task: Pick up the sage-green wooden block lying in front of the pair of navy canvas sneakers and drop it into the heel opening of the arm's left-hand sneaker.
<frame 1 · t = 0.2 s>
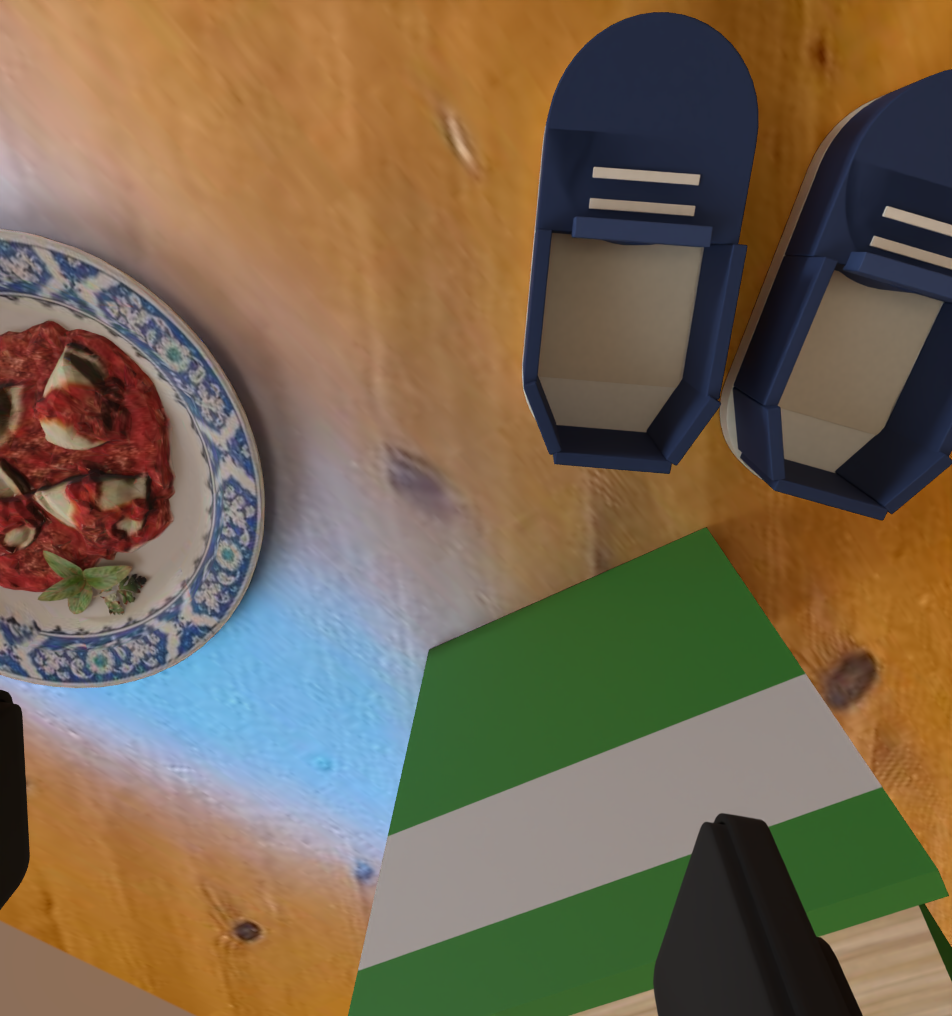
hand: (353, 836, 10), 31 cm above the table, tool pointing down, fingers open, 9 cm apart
sneaker 1: (618, 264, 37), on the table
ceramic plate: (54, 470, 42), on the table
hardback book: (588, 640, 44), on the table
sneaker 2: (846, 303, 37), on the table
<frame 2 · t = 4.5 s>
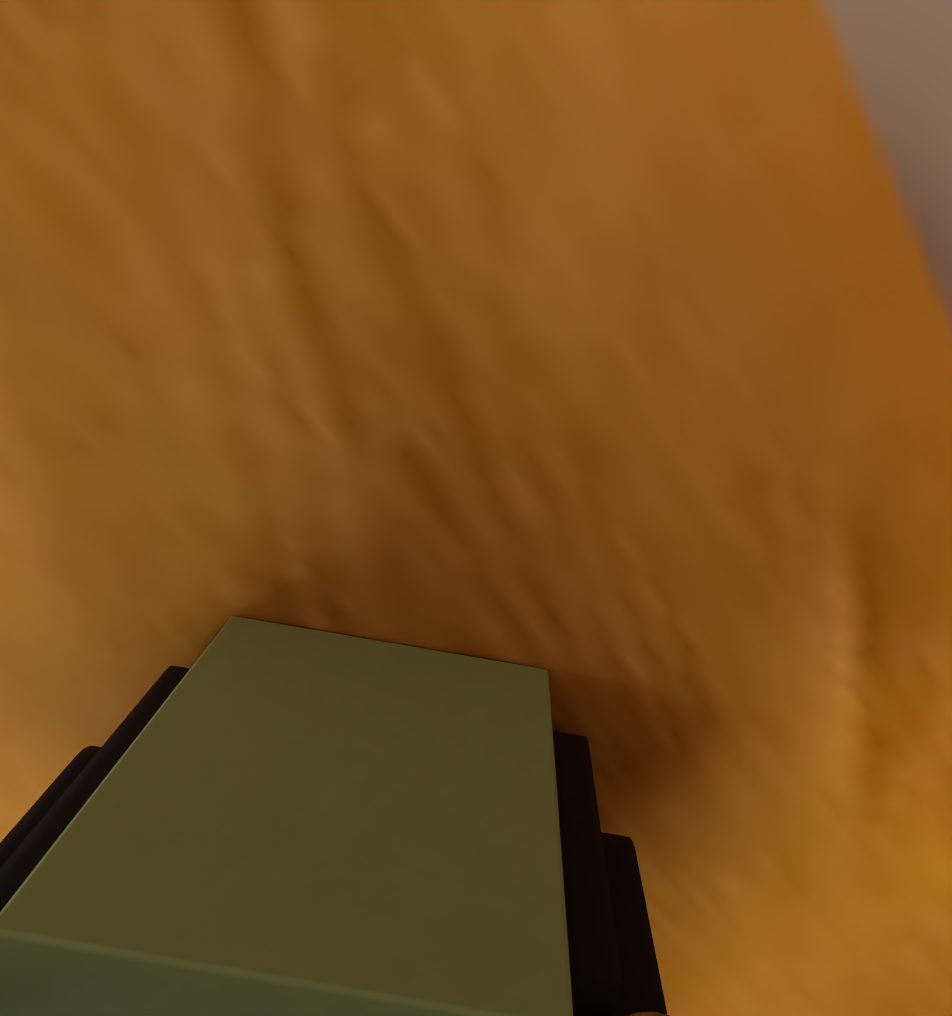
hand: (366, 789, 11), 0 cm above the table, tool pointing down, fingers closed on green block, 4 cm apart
green block: (371, 771, 11), on the table, touching gripper
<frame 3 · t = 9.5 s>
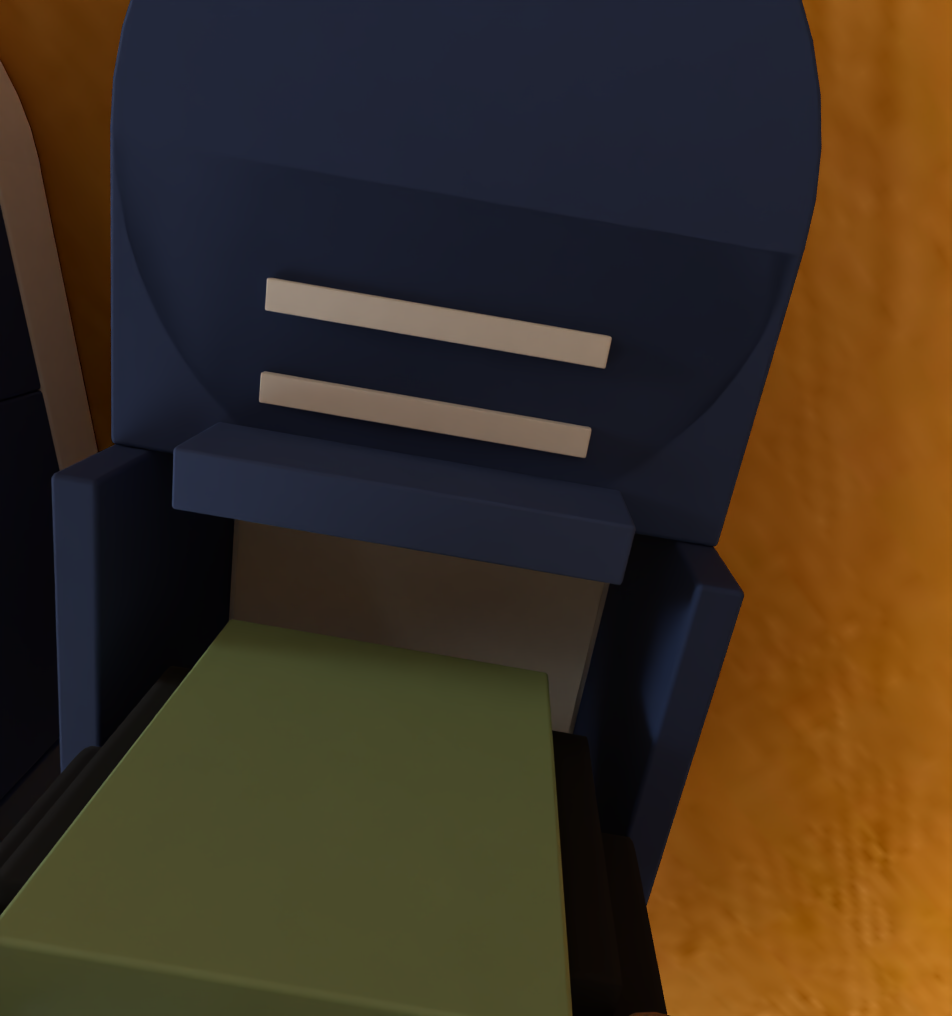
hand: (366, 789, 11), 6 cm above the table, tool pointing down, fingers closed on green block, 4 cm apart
green block: (371, 774, 11), point 5 cm above the table, touching gripper
sneaker 2: (438, 475, 15), on the table
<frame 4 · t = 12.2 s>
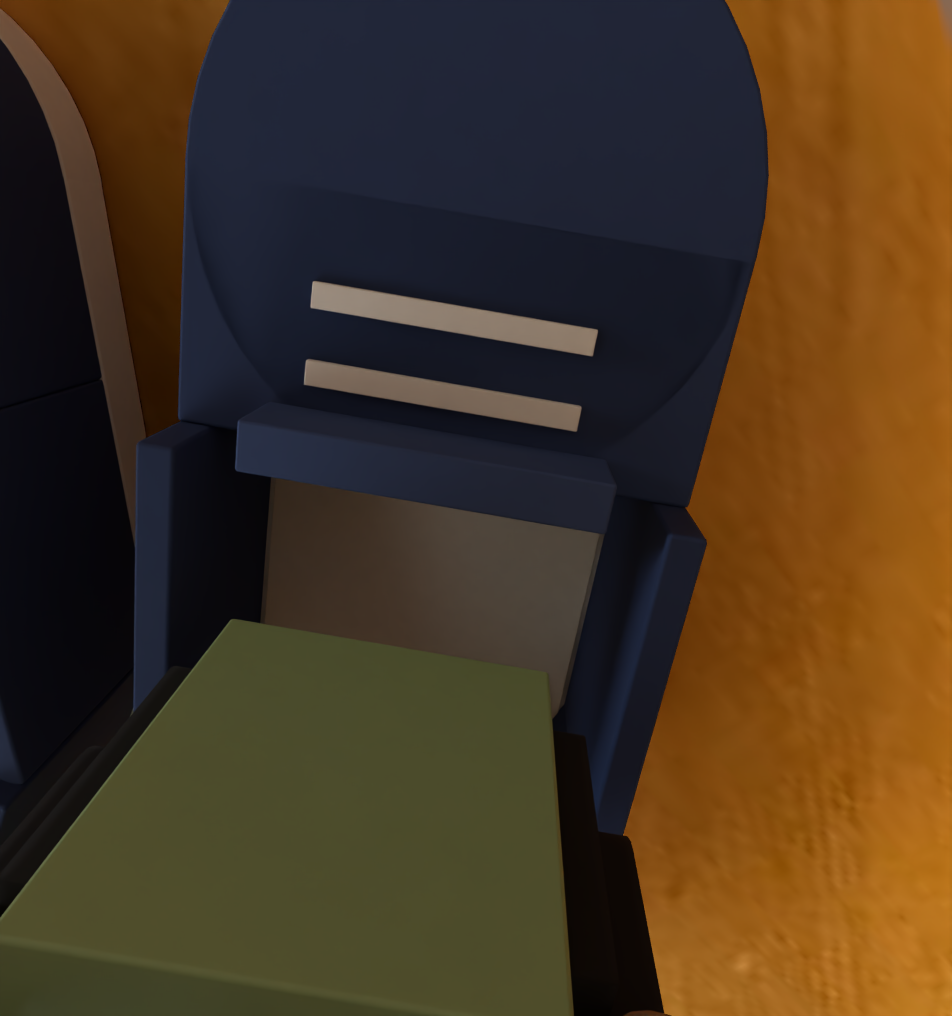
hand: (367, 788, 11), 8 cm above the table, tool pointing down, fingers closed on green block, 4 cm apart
green block: (372, 774, 11), point 7 cm above the table, touching gripper
sneaker 2: (448, 456, 17), on the table
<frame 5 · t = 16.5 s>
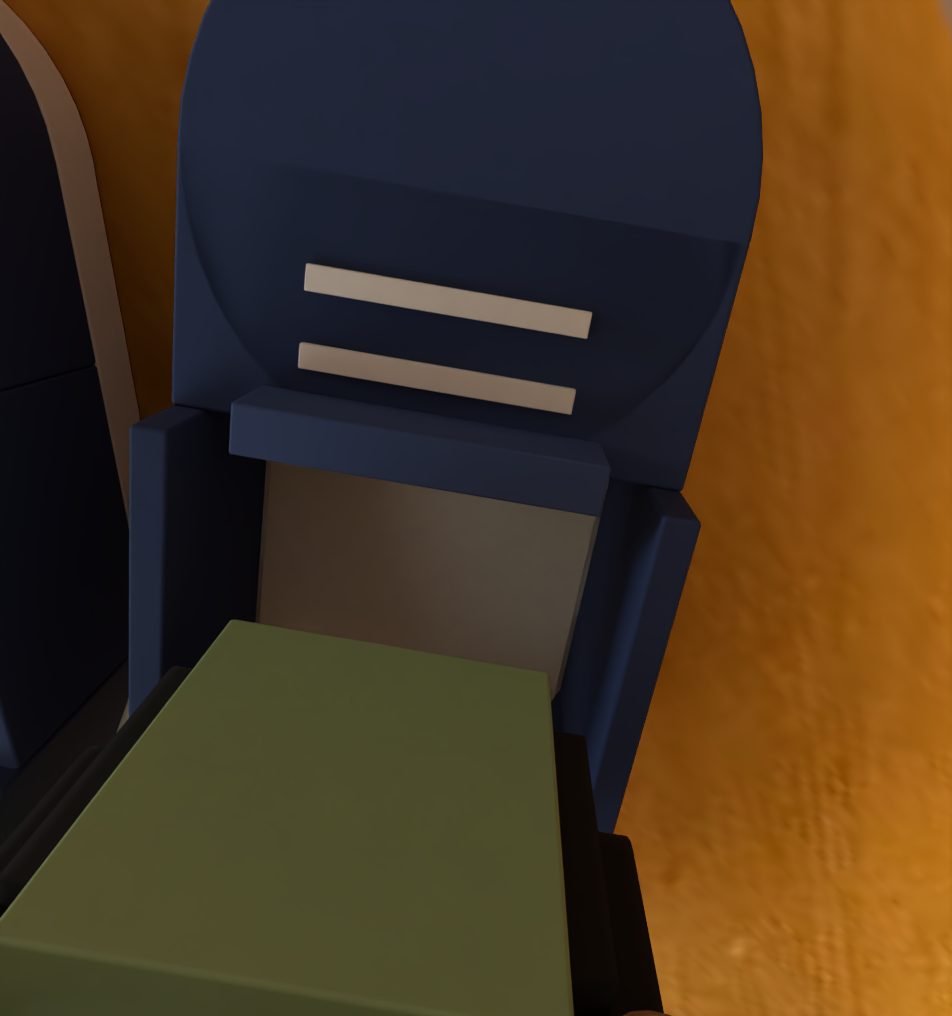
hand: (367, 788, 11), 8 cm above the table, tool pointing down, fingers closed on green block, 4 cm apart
green block: (372, 774, 11), point 8 cm above the table, touching gripper
sneaker 2: (444, 443, 17), on the table
when the fingers open (8 cm above the table, at t = 20.2 s): green block drops 6 cm, resting on sneaker 2.
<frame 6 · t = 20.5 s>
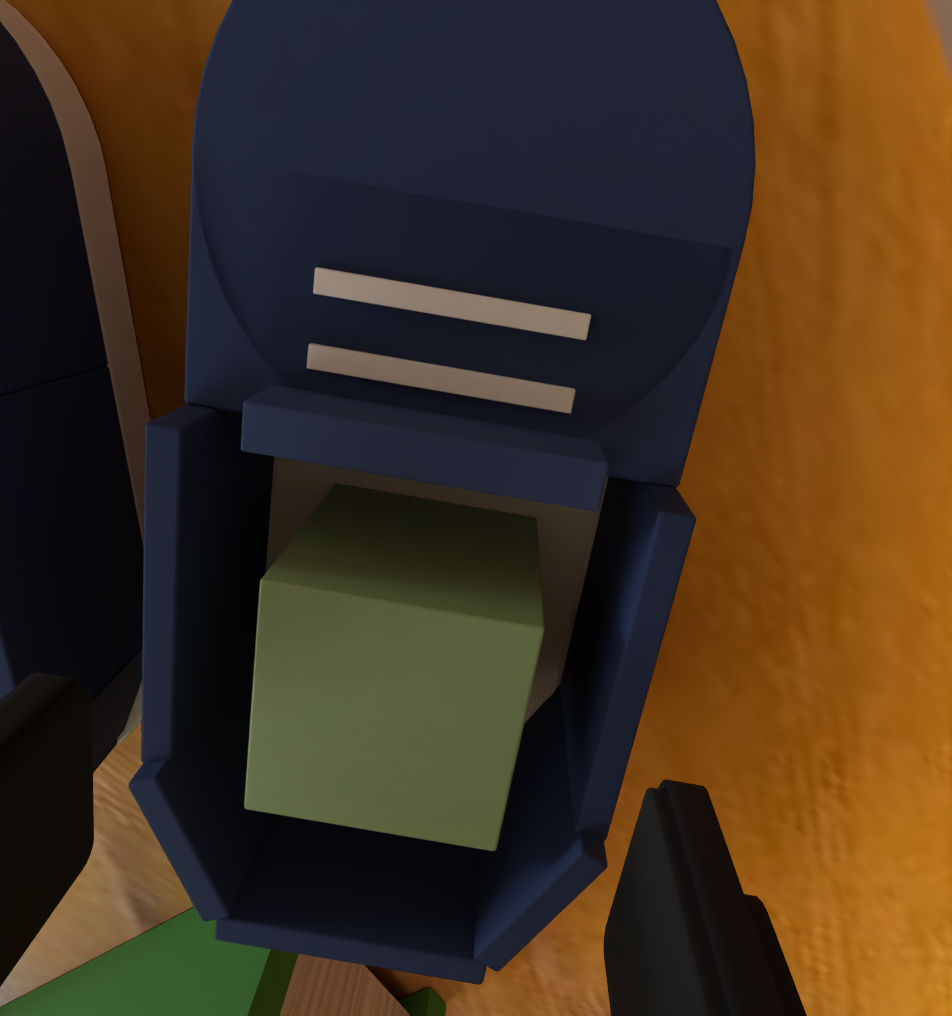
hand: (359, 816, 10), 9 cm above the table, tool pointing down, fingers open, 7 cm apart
green block: (422, 590, 17), point 2 cm above the table, touching sneaker 2
sneaker 2: (447, 442, 18), on the table
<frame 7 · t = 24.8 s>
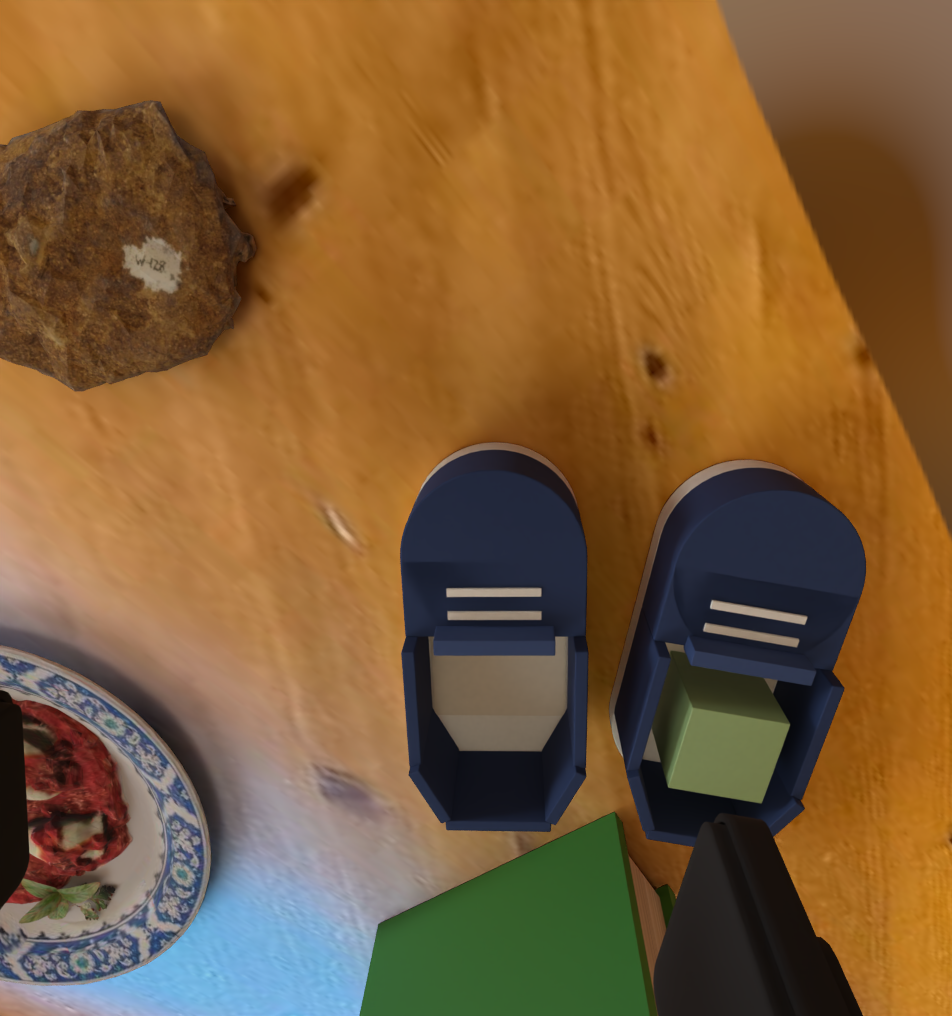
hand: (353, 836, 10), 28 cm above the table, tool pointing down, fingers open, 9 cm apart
sneaker 1: (498, 611, 40), on the table
ceramic plate: (23, 802, 47), on the table
green block: (702, 694, 40), point 2 cm above the table, touching sneaker 2
decorative rock: (105, 261, 35), on the table
hardback book: (523, 906, 47), on the table
sneaker 2: (710, 627, 40), on the table
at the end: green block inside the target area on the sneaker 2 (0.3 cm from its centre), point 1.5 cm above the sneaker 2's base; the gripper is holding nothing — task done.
